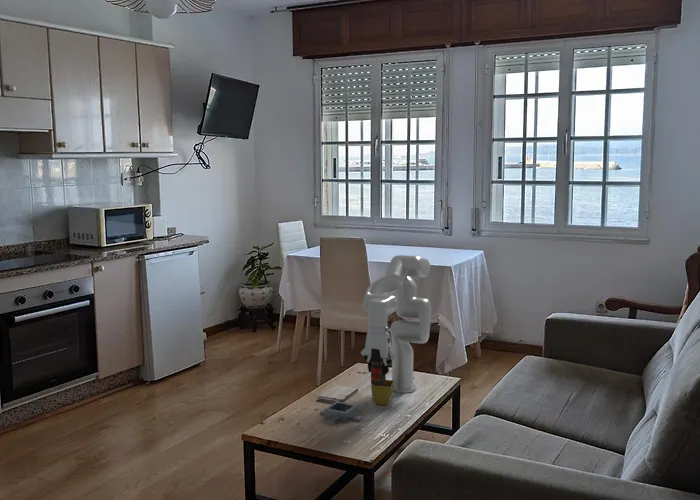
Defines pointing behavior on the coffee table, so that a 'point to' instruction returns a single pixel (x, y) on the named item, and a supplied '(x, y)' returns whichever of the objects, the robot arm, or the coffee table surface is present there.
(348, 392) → the washcloth
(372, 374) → the deodorant
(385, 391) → the flower pot
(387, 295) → the robot arm
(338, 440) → the coffee table surface
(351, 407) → the tabbed square frame
